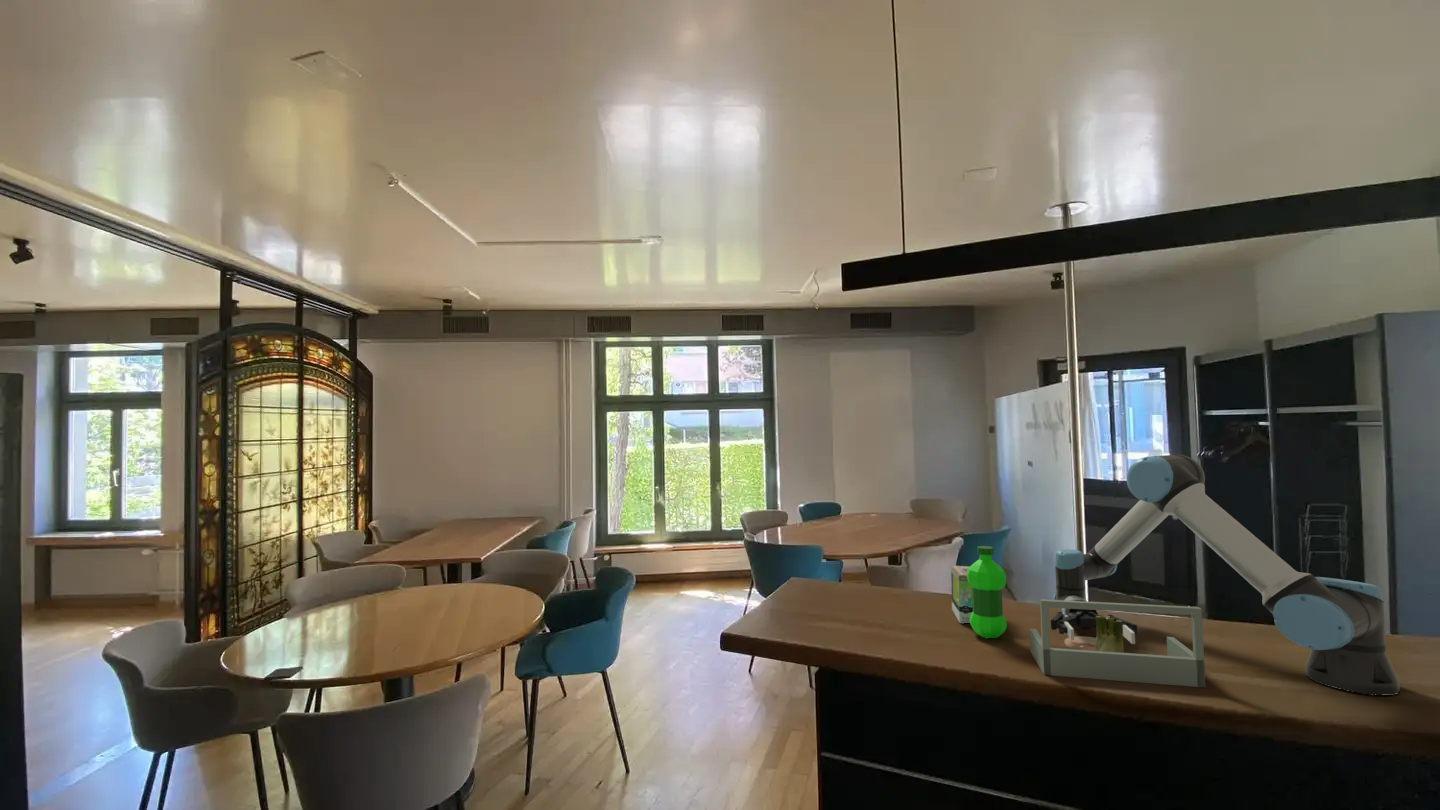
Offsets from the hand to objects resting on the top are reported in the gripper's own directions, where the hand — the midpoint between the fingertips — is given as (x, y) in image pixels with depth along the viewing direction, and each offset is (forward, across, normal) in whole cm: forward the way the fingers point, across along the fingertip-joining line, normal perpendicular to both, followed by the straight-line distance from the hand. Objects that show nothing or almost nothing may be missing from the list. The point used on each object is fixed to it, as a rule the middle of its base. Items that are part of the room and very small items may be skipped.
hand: (1102, 636), depth 159 cm
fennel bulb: (+3, 0, -7) cm, 7 cm away
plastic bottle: (-15, +25, -6) cm, 30 cm away
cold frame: (+4, -1, -6) cm, 7 cm away
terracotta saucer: (-11, 0, -6) cm, 13 cm away
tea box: (-33, +28, -7) cm, 43 cm away
